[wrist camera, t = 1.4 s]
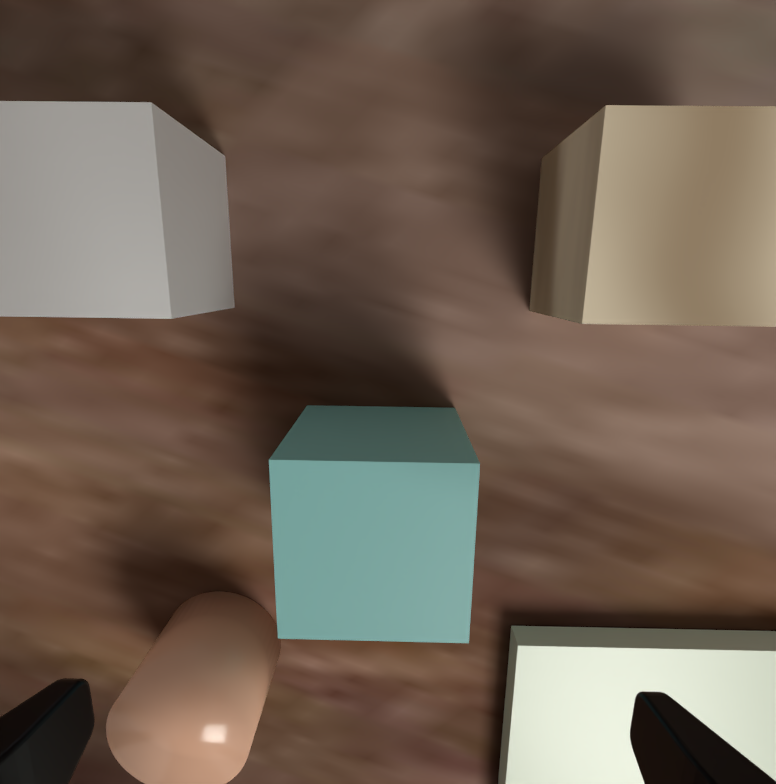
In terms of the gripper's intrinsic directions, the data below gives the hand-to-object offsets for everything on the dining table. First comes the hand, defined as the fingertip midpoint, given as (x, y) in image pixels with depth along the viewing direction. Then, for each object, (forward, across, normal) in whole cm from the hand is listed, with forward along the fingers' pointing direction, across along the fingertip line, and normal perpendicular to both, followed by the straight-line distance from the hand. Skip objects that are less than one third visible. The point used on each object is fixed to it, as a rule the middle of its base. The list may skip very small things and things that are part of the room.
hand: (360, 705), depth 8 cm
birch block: (+9, -7, -8) cm, 14 cm away
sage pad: (+9, -11, +12) cm, 19 cm away
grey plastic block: (+9, +7, -8) cm, 14 cm away
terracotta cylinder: (+9, +6, +7) cm, 13 cm away
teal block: (+9, 0, 0) cm, 9 cm away
